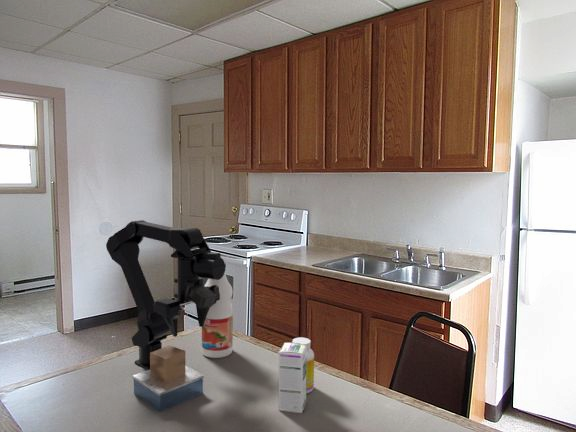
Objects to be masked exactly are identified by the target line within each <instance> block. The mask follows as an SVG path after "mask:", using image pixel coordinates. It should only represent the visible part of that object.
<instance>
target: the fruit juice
mask: <svg viewBox="0 0 576 432" xmlns="http://www.w3.org/2000/svg"><path fill="white" fill-rule="evenodd" d="M224 263H225V265H226V266H227V264H226V261H224ZM226 274H227V273H226V272H225V273H224V275H223V277H222V278H221V279H219V280H215V279H208V278H207V280H206V282H205V284H204V286H205V287H207V286H209V287H210V286H212V285H217V286H218V287H219V293H220V300H217V301H216V304H214V305H212V306H211V307H210V309H209V311H208V313H207V316H206V319H205V322H204V325H203V327H201V352H202V355H203V356H205V357H207V358H209V359H210V358H211V359H218V358H219V359H221V358H225V357H228V356H230V355H231V354H232V352H233V345H234V344H233V343H234V342H233V338H234V334H233V332H234V329H233V328H234V308H233V303H232V296H233V287H232V285H231V283H230V282H229V280H228V278H227V275H226Z"/></svg>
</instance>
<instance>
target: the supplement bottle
mask: <svg viewBox="0 0 576 432" xmlns="http://www.w3.org/2000/svg"><path fill="white" fill-rule="evenodd" d="M291 343H300V344H305V345H307V372H306V373H307V376H306V395H307V394H309V393H311V392H312V391H313V390H314V386H315V381H314V380H315V352H314V351H313V350H312V348H311V344H312V341H311V340H310V338H307V337H302V336H301V337H295V338H292V341H291Z"/></svg>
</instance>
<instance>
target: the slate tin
mask: <svg viewBox="0 0 576 432" xmlns="http://www.w3.org/2000/svg"><path fill="white" fill-rule="evenodd" d="M204 378H205V375H204V374H203V373H200V372H199V371H197V370H195V369H193V368H191V367H190V366H187V365H186V364H185V375H183V376H180V377H178V378H176V379H174V380H172V381H170V382H168V383H164V382H162V381H160V380H157V379H155V378H153V377H151V376H150V369H146V370H145V371H142V372H139V373H136V374H133V375H132V379H133V394H134V395H135V396H137V397H139V398H140V399H142V400H143V401H144V402H145V403H147V404H148V405H149V406H151V407H152V408H153V409H155V410H157V411H158V412H159V413H160V412H163V411H165V410H168V409H171V408H173V407H174V406H177V405H178V404H181V403H183V402H185V401H188V400H190V399H192V398H194V397H197V396H199V395H201V394H203V391H204V390H203V387H204V384H203V383H204Z"/></svg>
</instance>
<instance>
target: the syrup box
mask: <svg viewBox="0 0 576 432" xmlns="http://www.w3.org/2000/svg"><path fill="white" fill-rule="evenodd" d="M306 372H307V345H305V344H300V343H292V342H283V345H282V346H281V348H280V349H279V351H278V410H279V411H281V412H287V413H296V414H303V411H304V409H305V407H306V403H307V394H306V376H307V373H306Z"/></svg>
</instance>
